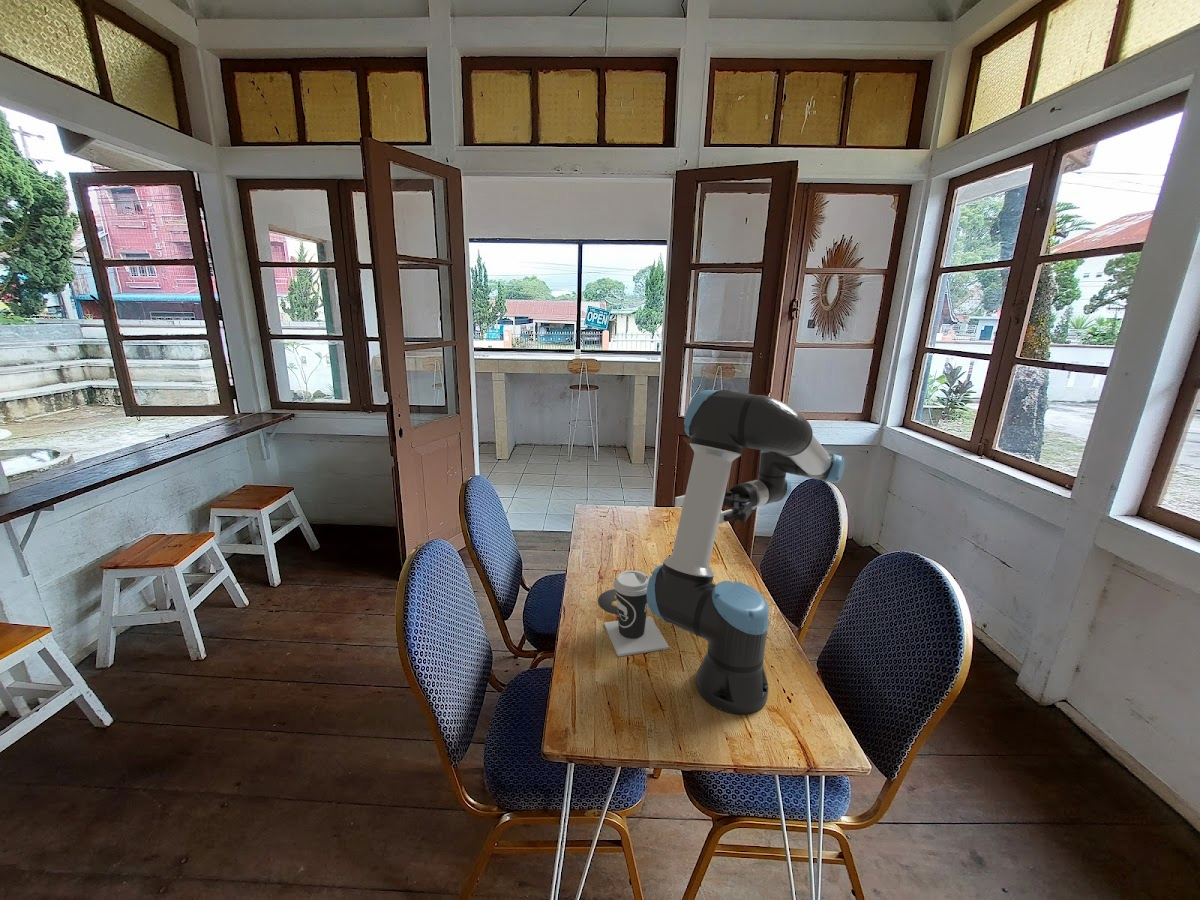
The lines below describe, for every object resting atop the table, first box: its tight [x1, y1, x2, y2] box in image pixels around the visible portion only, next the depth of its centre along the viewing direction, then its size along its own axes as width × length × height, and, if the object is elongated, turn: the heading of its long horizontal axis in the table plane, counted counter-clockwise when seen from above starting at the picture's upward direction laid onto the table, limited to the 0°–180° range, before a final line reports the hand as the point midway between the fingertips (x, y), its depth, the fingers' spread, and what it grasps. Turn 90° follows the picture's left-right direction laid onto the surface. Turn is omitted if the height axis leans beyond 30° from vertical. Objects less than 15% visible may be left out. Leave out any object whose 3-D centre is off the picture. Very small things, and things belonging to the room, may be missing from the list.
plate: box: [603, 616, 670, 658], centre depth 126 cm, size 13×13×1 cm
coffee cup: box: [613, 570, 650, 639], centre depth 125 cm, size 10×10×15 cm
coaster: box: [597, 588, 618, 615], centre depth 141 cm, size 13×13×1 cm
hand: (693, 510), depth 129 cm, fingers open, 13 cm apart
